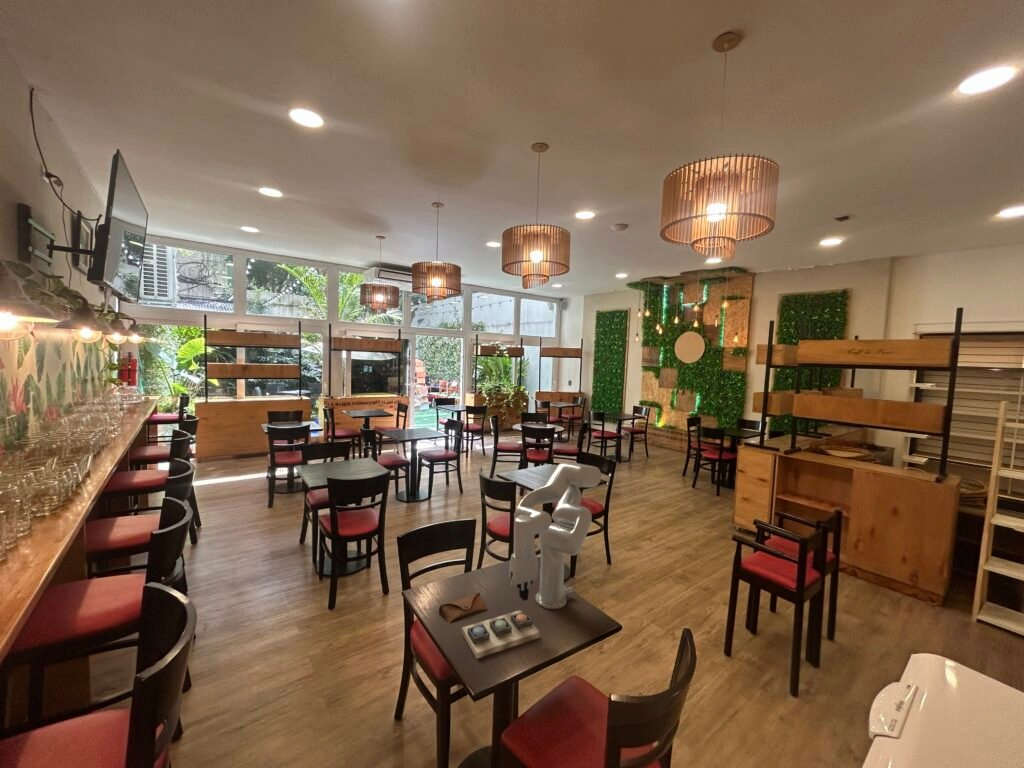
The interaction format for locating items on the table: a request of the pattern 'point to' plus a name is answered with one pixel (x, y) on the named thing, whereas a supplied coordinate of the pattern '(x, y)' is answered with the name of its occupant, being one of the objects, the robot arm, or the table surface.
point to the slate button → (478, 631)
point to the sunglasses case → (462, 608)
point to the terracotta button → (521, 618)
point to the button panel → (500, 634)
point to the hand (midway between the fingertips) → (523, 598)
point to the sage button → (500, 624)
